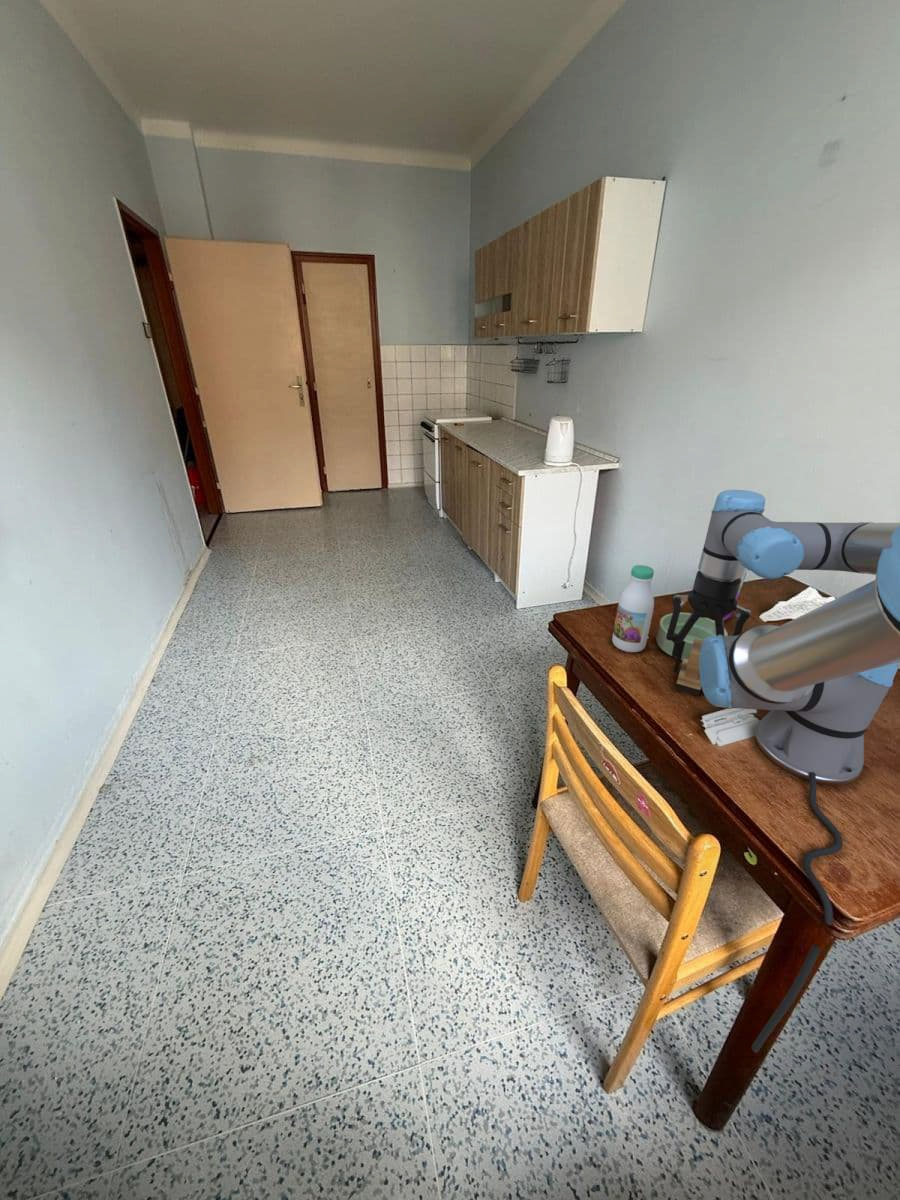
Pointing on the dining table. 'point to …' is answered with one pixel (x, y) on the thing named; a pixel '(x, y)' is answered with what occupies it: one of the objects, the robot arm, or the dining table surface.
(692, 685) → the brush
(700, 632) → the bowl
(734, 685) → the robot arm
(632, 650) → the milk bottle
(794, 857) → the dining table surface
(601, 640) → the dining table surface
